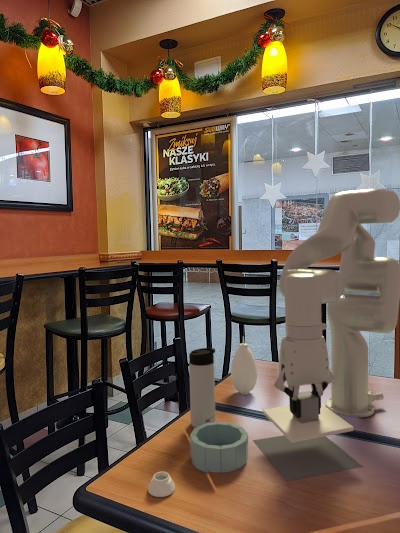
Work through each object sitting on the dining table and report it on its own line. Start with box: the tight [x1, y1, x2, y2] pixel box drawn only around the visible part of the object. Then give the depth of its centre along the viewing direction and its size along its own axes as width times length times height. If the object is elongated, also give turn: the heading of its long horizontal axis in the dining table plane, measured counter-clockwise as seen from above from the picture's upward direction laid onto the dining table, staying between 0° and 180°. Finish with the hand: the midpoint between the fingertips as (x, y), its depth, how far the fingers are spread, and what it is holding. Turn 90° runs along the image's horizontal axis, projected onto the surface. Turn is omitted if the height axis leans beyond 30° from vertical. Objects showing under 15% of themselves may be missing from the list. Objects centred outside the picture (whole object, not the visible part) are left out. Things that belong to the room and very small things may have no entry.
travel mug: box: [188, 347, 216, 429], centre depth 104 cm, size 6×7×20 cm
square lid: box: [262, 390, 354, 443], centre depth 89 cm, size 14×14×6 cm
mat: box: [252, 434, 364, 482], centre depth 89 cm, size 17×17×1 cm
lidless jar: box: [147, 471, 176, 498], centre depth 78 cm, size 5×3×5 cm
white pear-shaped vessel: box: [230, 335, 258, 395], centre depth 126 cm, size 8×8×18 cm
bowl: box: [189, 421, 249, 475], centre depth 88 cm, size 12×12×6 cm
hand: (305, 412), depth 90 cm, fingers closed on square lid, 4 cm apart
